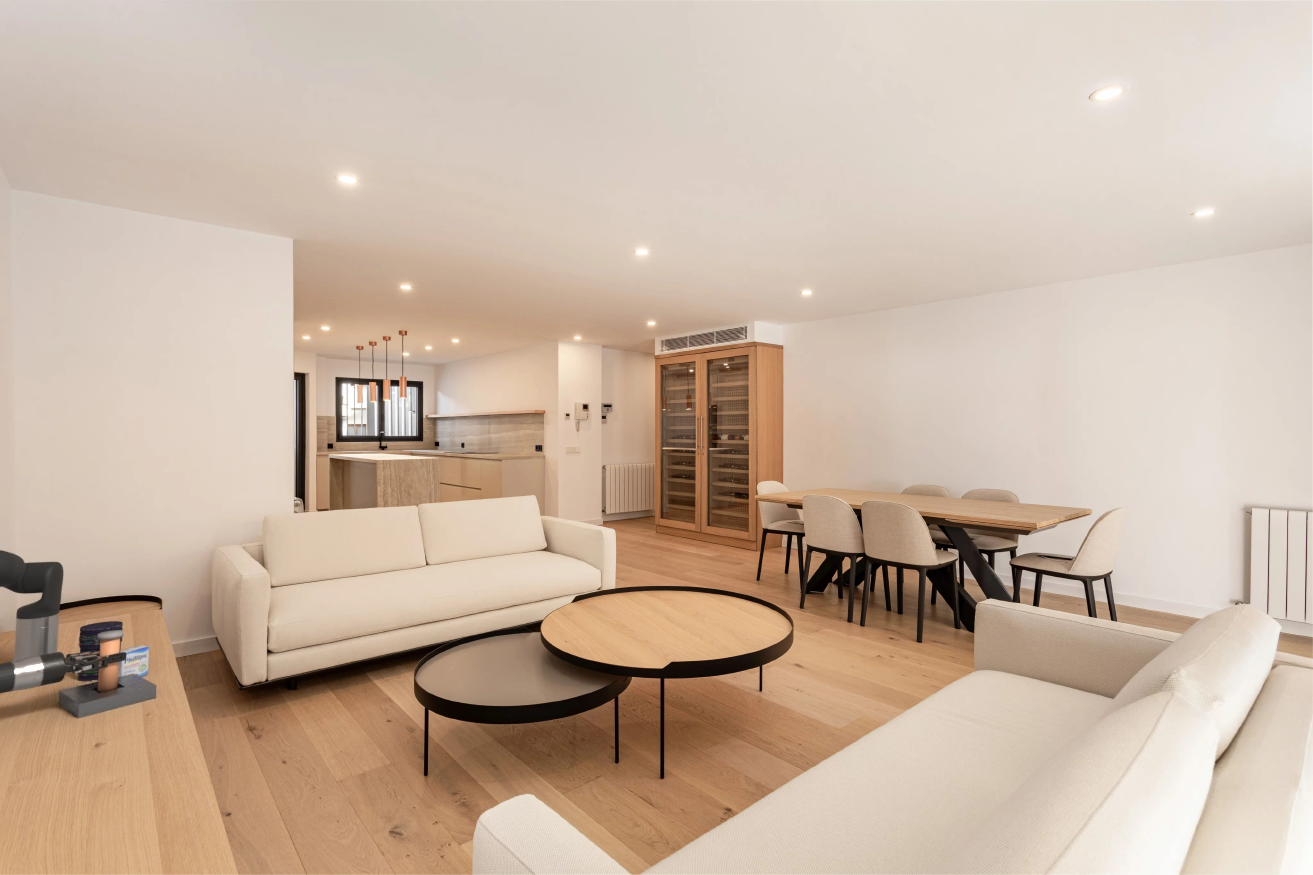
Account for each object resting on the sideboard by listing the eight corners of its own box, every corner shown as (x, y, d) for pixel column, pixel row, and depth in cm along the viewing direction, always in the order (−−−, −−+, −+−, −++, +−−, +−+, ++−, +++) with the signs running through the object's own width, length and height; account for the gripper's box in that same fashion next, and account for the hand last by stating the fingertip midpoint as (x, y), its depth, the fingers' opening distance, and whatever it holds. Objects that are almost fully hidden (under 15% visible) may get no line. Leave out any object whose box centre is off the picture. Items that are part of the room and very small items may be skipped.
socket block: (58, 703, 165) (58, 690, 165) (133, 685, 179) (133, 673, 179) (78, 717, 157) (79, 703, 157) (155, 697, 170) (156, 684, 170)
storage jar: (69, 678, 184) (71, 627, 184) (109, 668, 193) (111, 619, 193) (89, 683, 180) (91, 631, 180) (128, 672, 189) (130, 623, 189)
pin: (91, 689, 167) (94, 633, 167) (116, 684, 171) (119, 629, 172) (98, 693, 164) (101, 636, 165) (123, 688, 168) (126, 632, 169)
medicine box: (121, 683, 180) (122, 653, 180) (108, 682, 181) (110, 652, 181) (148, 674, 188) (149, 645, 188) (136, 673, 189) (137, 644, 189)
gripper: (46, 661, 152) (133, 644, 167) (28, 651, 160) (113, 636, 174) (44, 692, 152) (132, 673, 166) (27, 680, 159) (112, 663, 174)
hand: (122, 654), depth 170 cm, fingers closed on pin, 4 cm apart
